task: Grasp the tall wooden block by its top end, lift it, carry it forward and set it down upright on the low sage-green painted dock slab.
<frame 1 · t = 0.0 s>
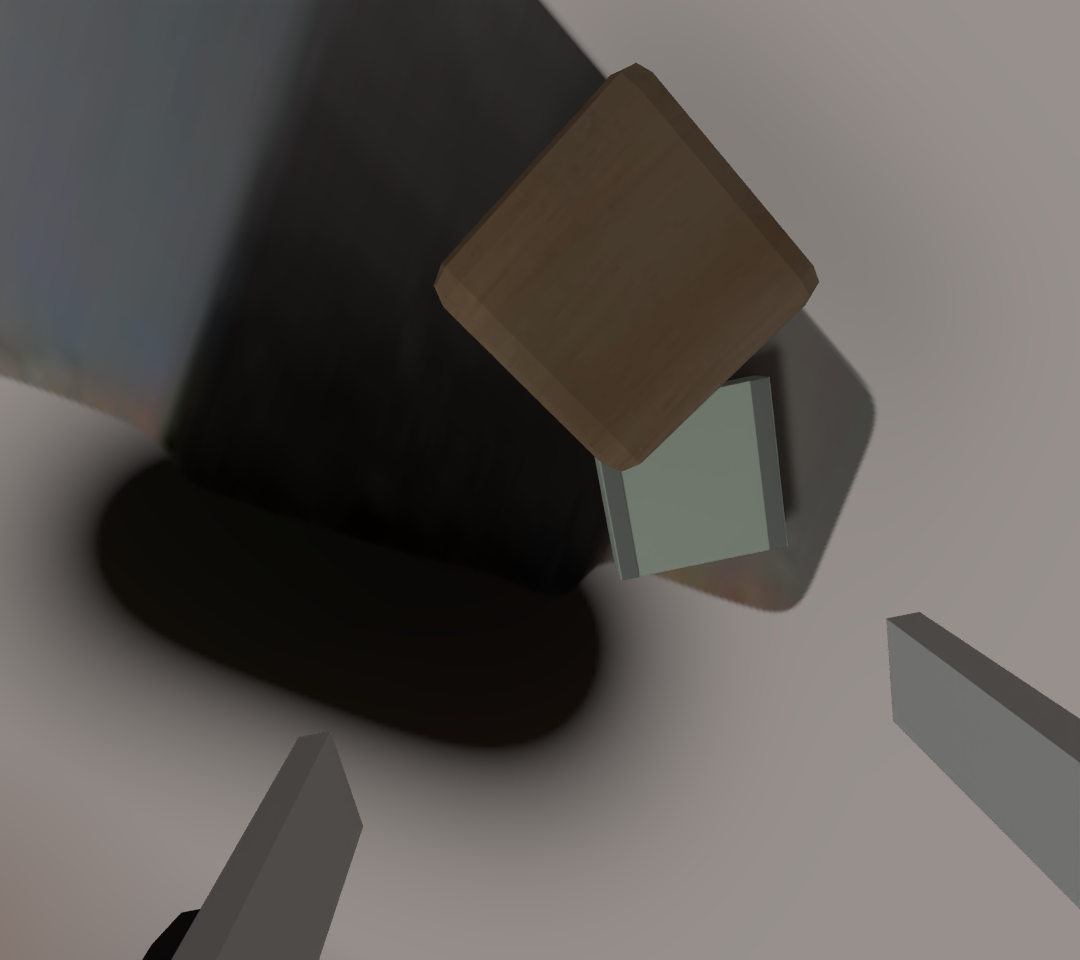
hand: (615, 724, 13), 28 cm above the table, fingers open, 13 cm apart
dock: (682, 474, 41), on the table
wooden block: (575, 314, 38), on the table
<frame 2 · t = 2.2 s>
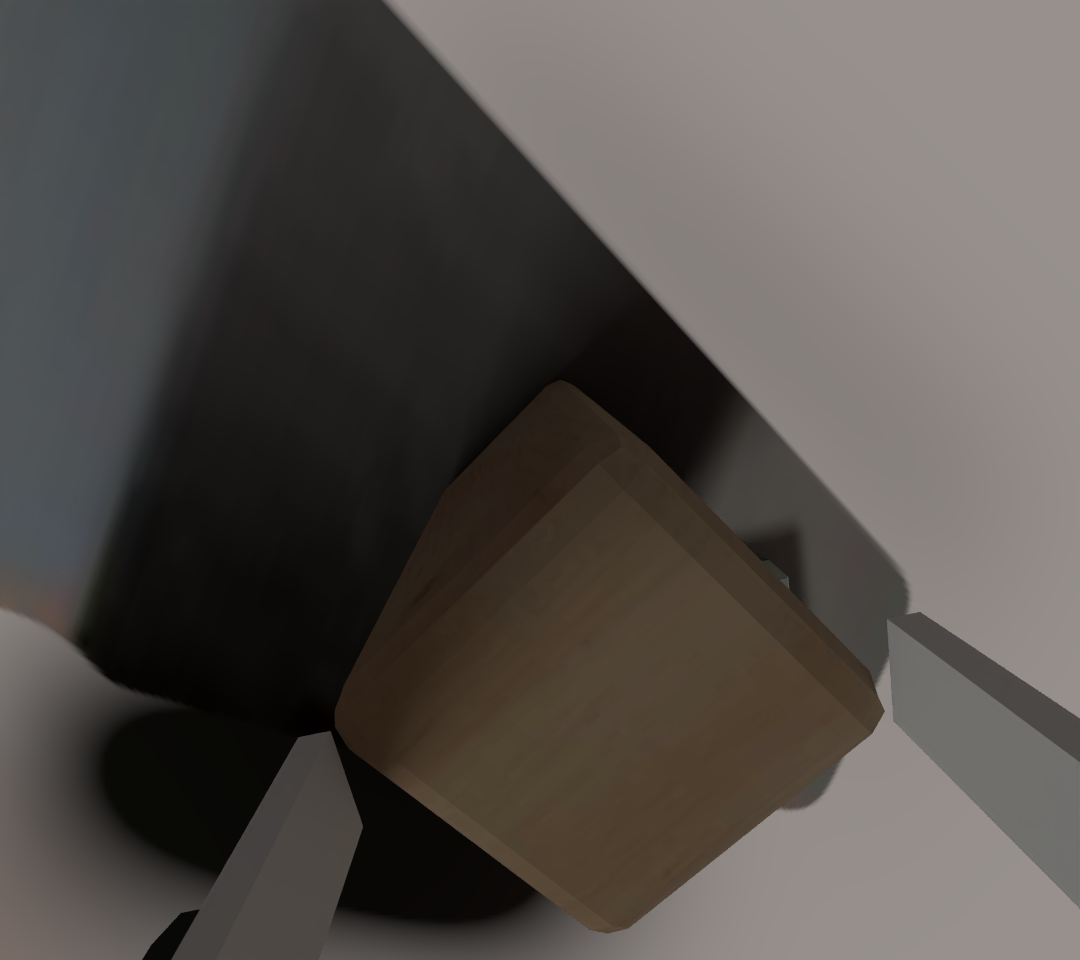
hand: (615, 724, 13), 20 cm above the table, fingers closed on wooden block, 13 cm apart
wooden block: (558, 495, 32), on the table, touching gripper
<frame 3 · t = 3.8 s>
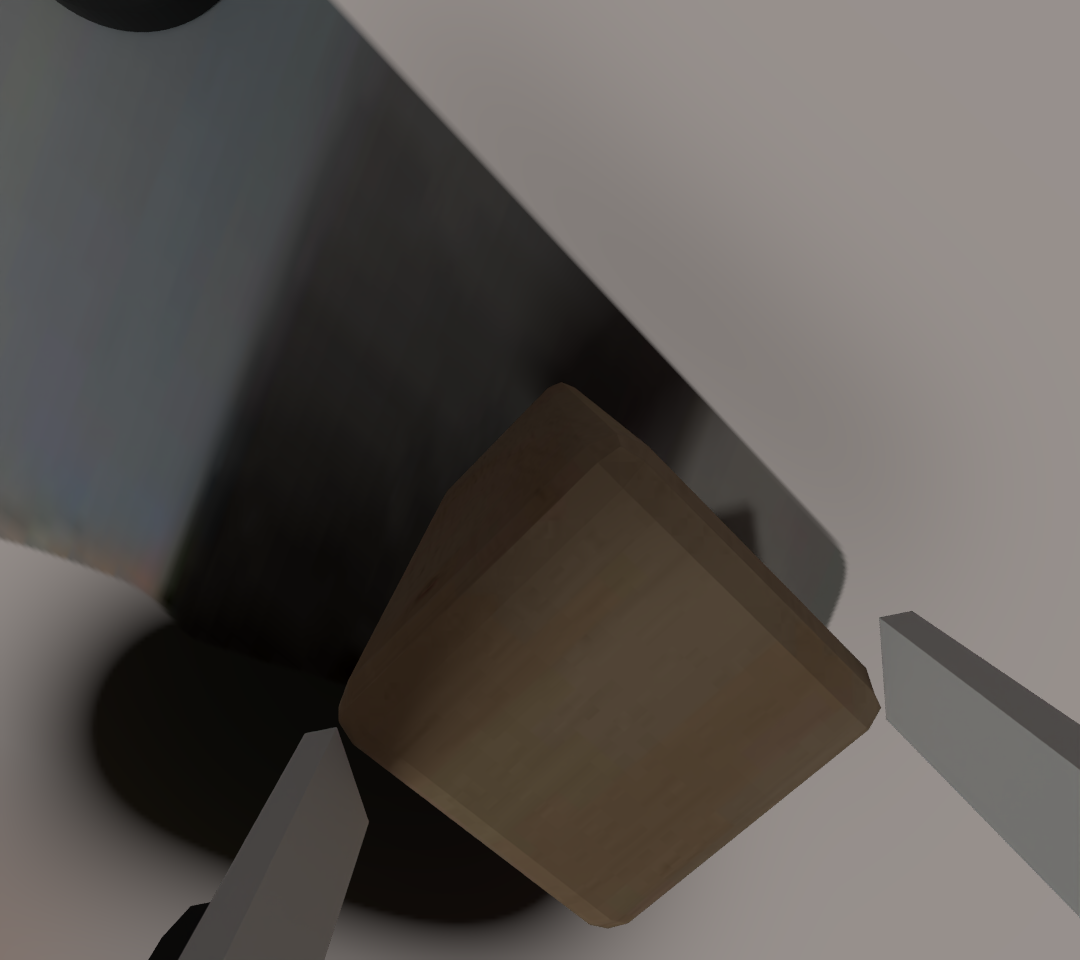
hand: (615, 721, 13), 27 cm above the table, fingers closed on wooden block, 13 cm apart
wooden block: (559, 496, 33), point 7 cm above the table, touching gripper
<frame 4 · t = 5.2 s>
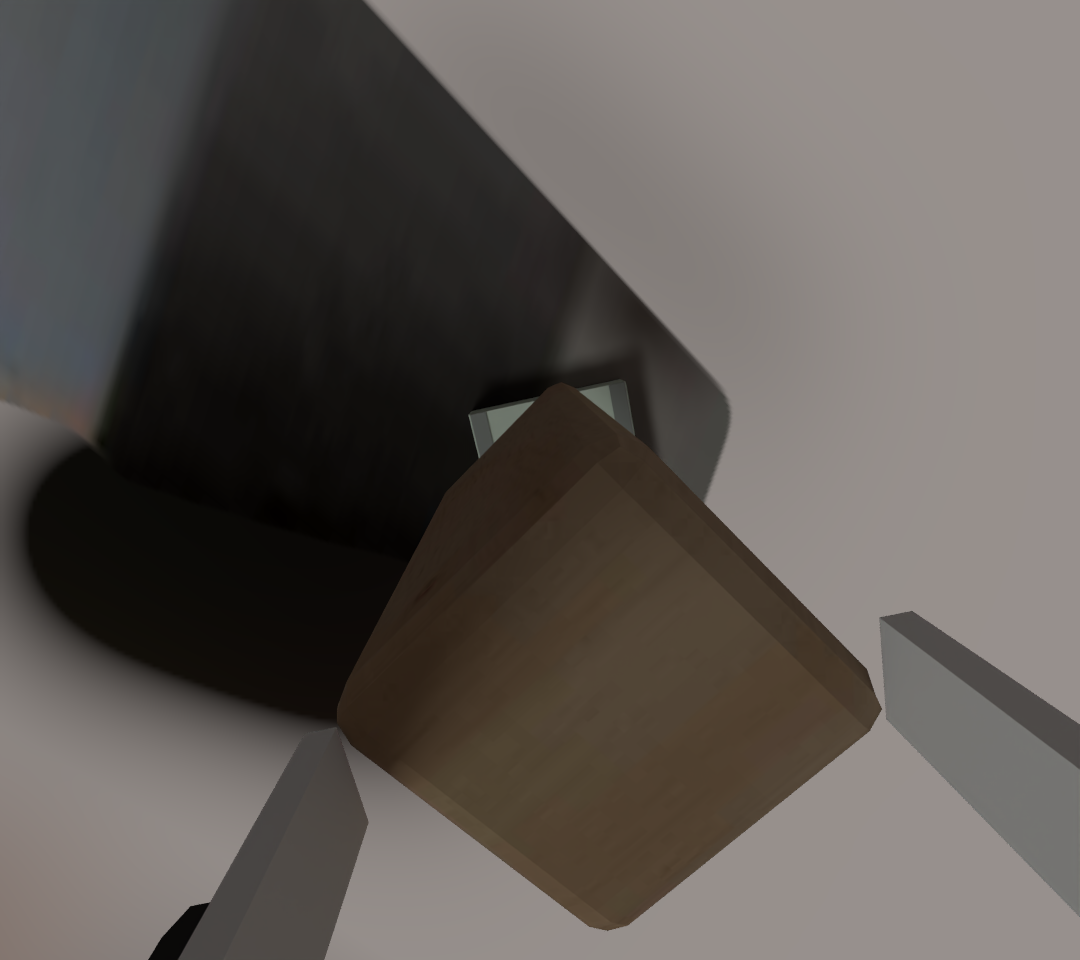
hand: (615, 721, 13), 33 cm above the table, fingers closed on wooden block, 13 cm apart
dock: (560, 467, 46), on the table
wooden block: (559, 497, 32), point 13 cm above the table, touching gripper
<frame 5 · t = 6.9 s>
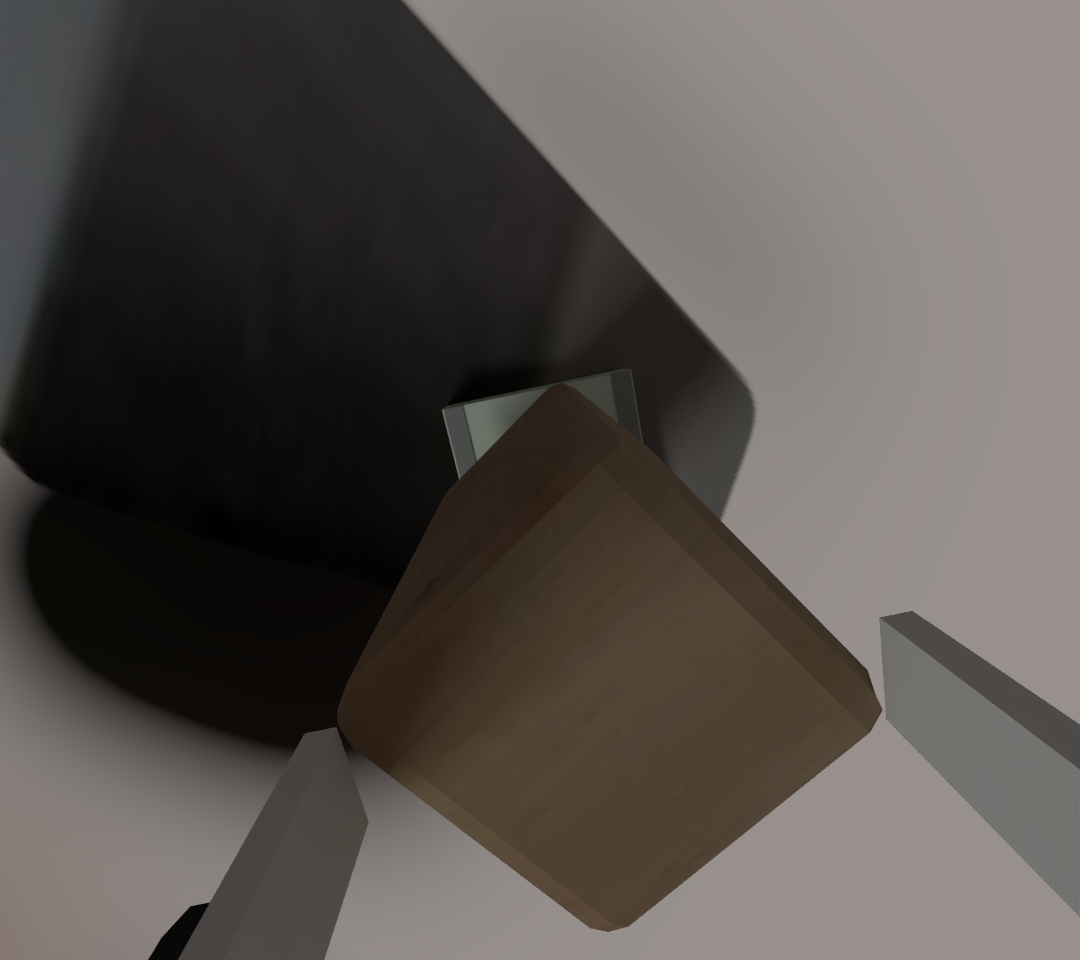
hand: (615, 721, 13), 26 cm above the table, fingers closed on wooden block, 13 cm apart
dock: (553, 473, 39), on the table
wooden block: (559, 497, 32), point 6 cm above the table, touching gripper
when the fingers open (22 cm above the table, at t = 8.5 s): wooden block stays where it is, resting on dock.
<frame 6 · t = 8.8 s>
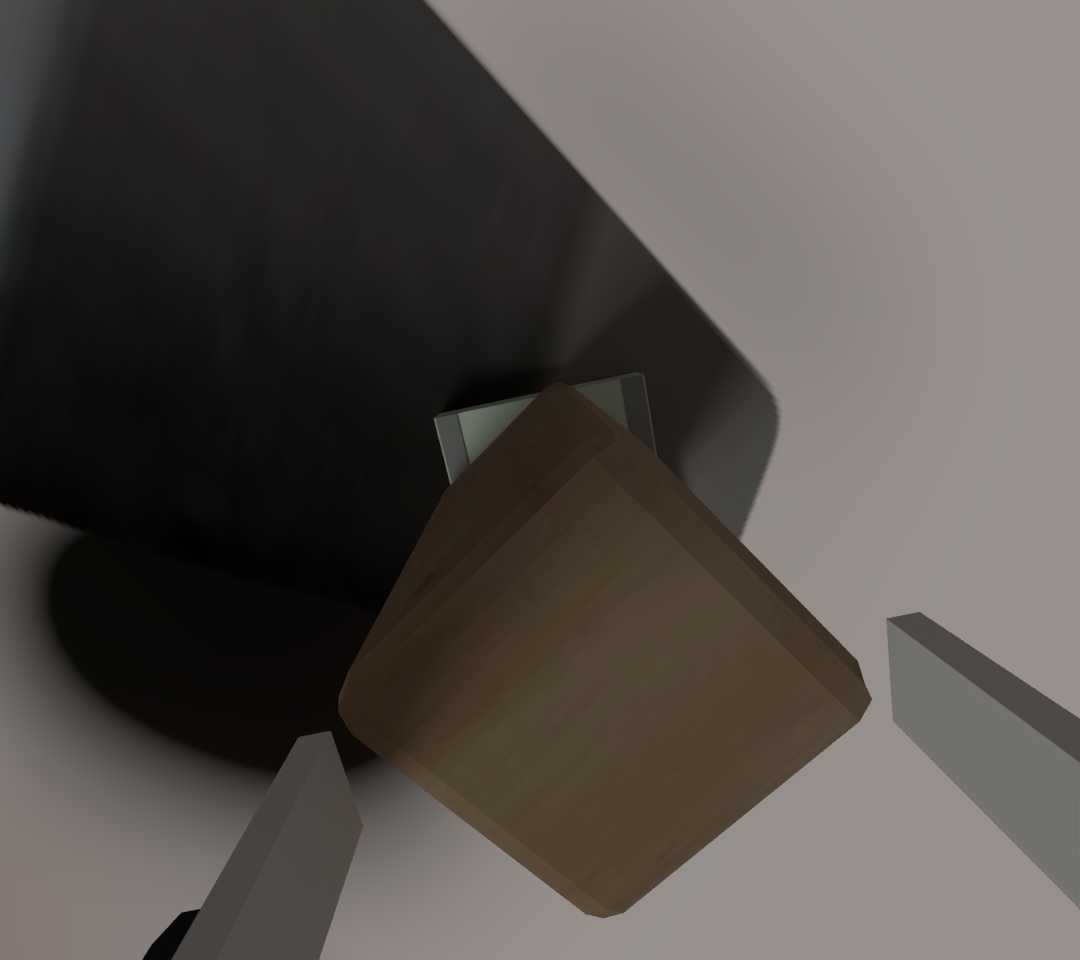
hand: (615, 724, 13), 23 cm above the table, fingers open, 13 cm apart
dock: (556, 487, 35), on the table
wooden block: (557, 495, 33), point 2 cm above the table, touching dock
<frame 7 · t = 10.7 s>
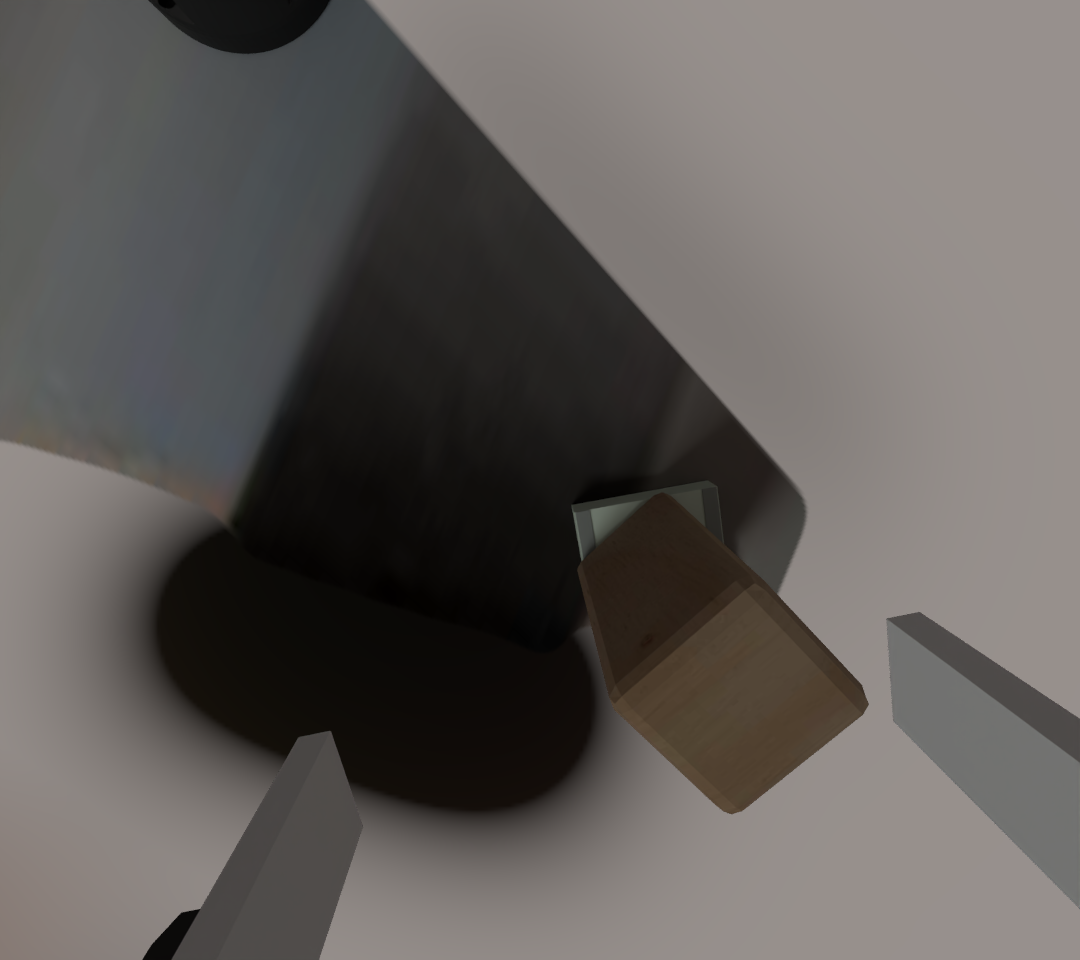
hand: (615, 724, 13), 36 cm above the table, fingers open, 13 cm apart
dock: (649, 557, 50), on the table
wooden block: (654, 565, 48), point 2 cm above the table, touching dock
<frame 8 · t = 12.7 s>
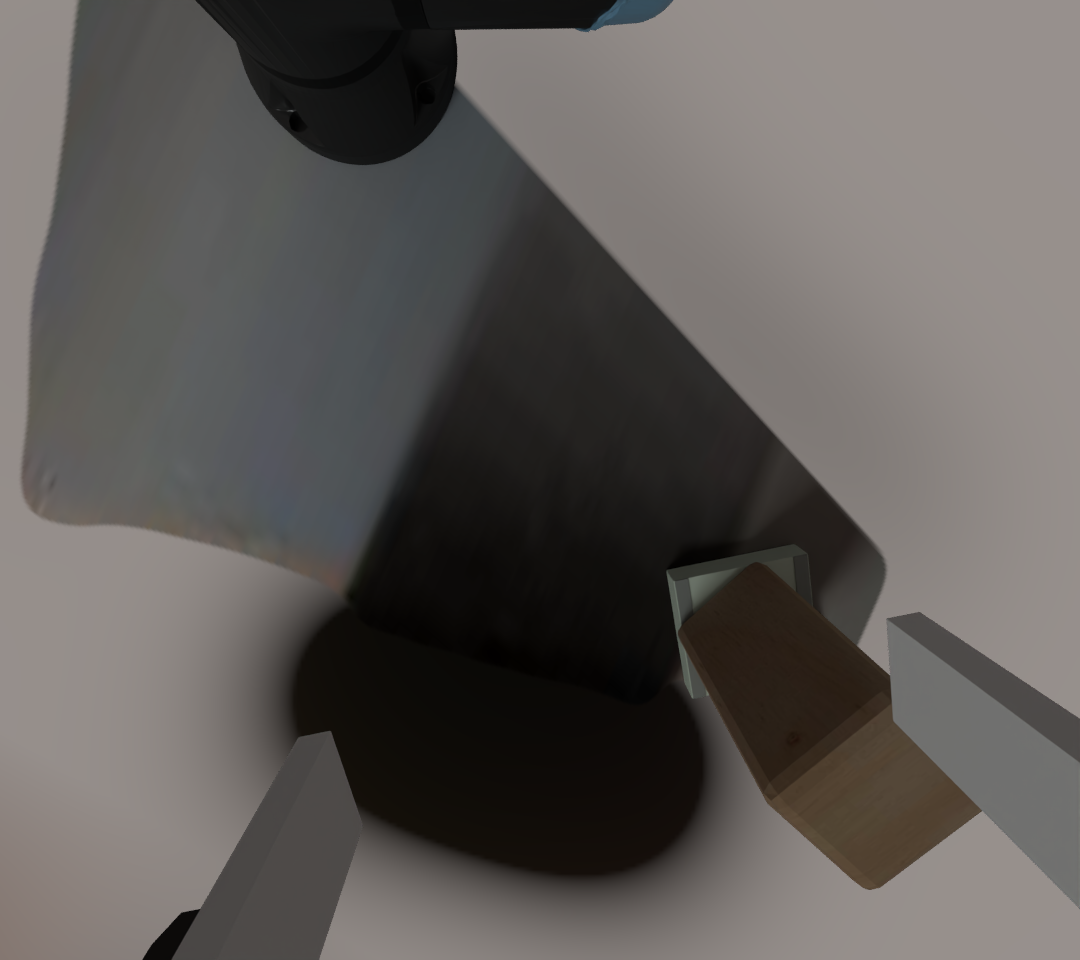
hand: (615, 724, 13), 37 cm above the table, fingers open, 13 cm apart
dock: (737, 615, 53), on the table
wooden block: (747, 626, 51), point 2 cm above the table, touching dock
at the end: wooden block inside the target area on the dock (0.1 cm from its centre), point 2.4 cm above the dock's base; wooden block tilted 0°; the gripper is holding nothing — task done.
